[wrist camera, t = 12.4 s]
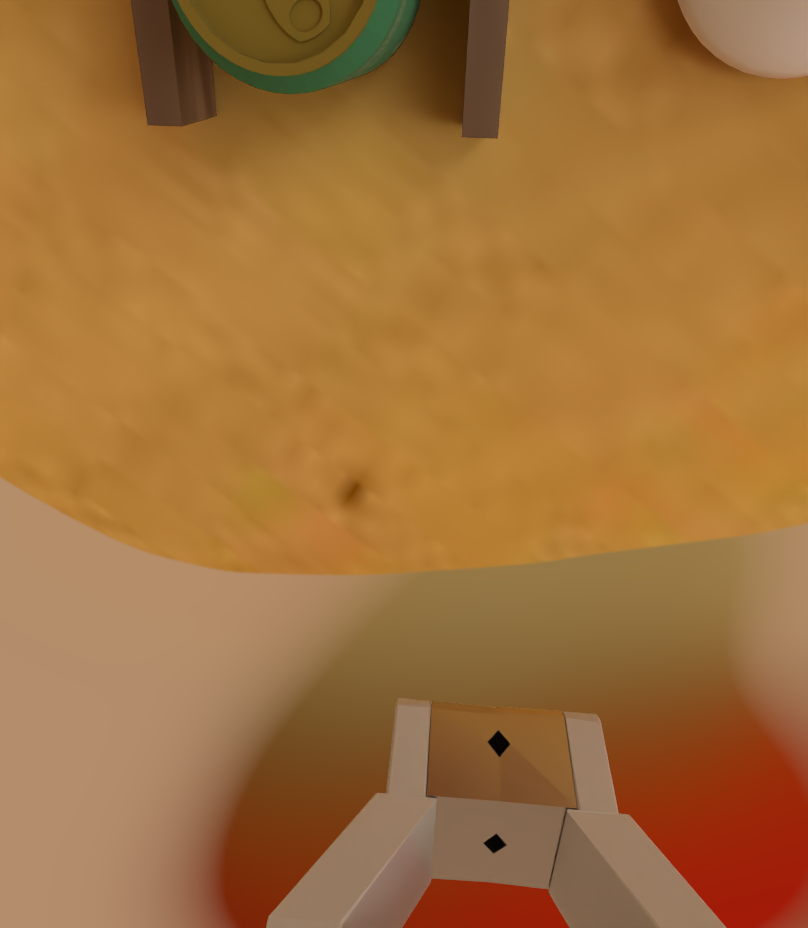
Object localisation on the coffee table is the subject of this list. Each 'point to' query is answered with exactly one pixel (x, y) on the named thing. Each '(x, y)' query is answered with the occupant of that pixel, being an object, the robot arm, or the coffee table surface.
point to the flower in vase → (753, 34)
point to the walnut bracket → (191, 78)
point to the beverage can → (297, 38)
